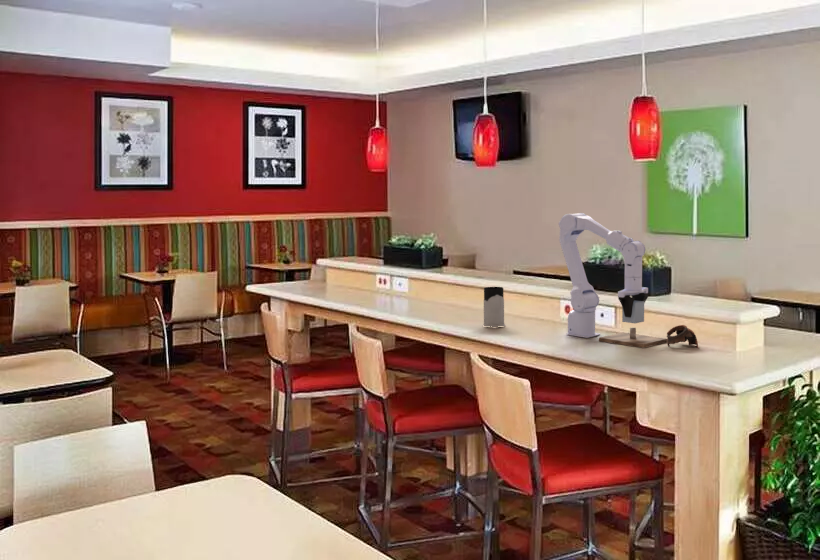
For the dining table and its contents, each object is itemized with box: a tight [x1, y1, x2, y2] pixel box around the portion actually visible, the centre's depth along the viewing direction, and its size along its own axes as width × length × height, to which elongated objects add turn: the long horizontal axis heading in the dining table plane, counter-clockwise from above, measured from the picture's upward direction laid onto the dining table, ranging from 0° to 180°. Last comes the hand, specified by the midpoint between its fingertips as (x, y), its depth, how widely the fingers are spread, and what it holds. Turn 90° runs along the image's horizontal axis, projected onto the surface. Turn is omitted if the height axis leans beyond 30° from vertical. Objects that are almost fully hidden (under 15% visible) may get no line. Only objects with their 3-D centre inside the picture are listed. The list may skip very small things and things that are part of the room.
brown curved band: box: [666, 324, 699, 349], centre depth 288 cm, size 12×10×8 cm
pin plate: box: [598, 327, 667, 349], centre depth 297 cm, size 18×14×5 cm
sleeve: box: [621, 300, 645, 324], centre depth 296 cm, size 5×5×7 cm
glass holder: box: [482, 286, 506, 327], centre depth 336 cm, size 9×14×15 cm, turn 14°
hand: (632, 316), depth 297 cm, fingers closed on sleeve, 5 cm apart
